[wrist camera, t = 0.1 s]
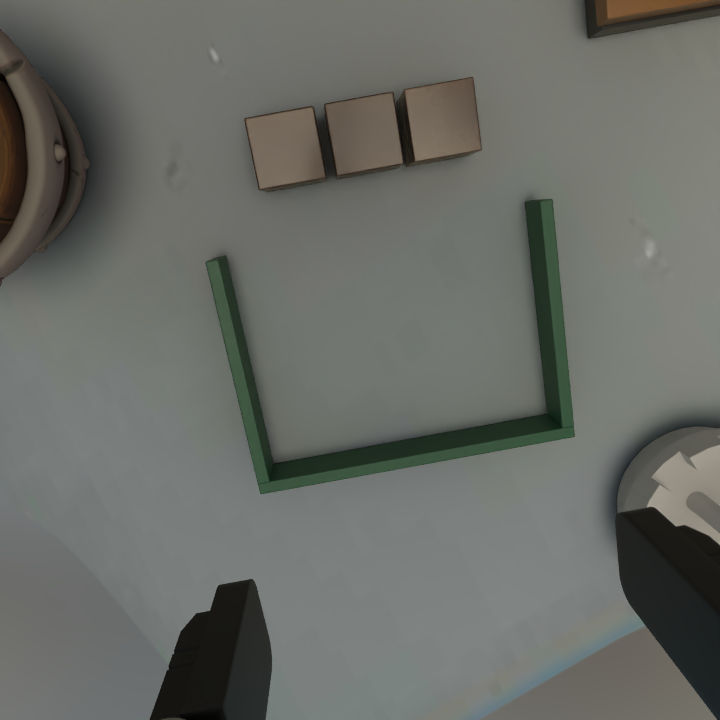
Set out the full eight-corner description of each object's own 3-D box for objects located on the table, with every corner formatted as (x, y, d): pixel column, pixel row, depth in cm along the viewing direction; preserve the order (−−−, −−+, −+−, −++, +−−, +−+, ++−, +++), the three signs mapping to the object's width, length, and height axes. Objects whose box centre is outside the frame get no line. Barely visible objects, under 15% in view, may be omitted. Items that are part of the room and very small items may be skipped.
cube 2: (324, 114, 38) (323, 103, 34) (387, 103, 38) (393, 91, 34) (335, 179, 39) (336, 176, 35) (397, 168, 39) (404, 164, 35)
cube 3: (396, 101, 38) (403, 89, 34) (458, 90, 38) (473, 76, 34) (406, 166, 39) (414, 162, 35) (467, 156, 39) (482, 149, 35)
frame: (214, 258, 40) (205, 261, 37) (536, 199, 40) (552, 198, 37) (264, 475, 44) (260, 494, 41) (558, 422, 44) (575, 437, 41)
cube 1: (252, 127, 38) (243, 118, 34) (315, 116, 38) (313, 105, 34) (265, 192, 39) (259, 190, 35) (326, 181, 39) (326, 178, 35)
